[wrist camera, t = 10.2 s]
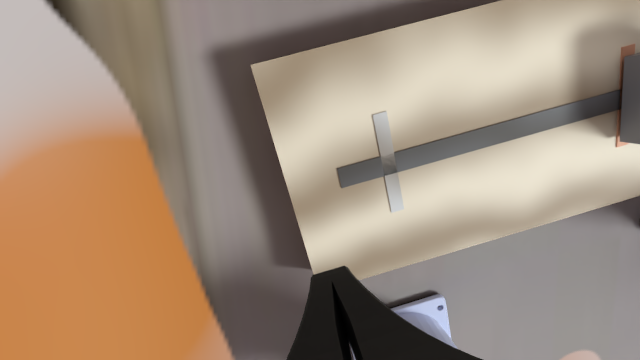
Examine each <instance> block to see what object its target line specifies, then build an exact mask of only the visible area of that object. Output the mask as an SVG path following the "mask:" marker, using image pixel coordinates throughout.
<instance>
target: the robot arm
mask: <svg viewBox="0 0 640 360" xmlns="http://www.w3.org/2000/svg"><path fill="white" fill-rule="evenodd" d="M439 305H441V306H440V307H438V306H439ZM349 343H350V346H351V350H352V354H353V357H354V360H482V359H480V358H477V357H475V356H472V355H470V354H467V353H465V352H463V351H461V350H458V349H457V347H456V346H455V344H454V343H453V342H452V340H451V334H450V328H449V321H448V314H447V307H446V301H445V298H444V297H443V296H442V295H440V294H437V295H434V296H430V297H427V298H424V299H421V300H417V301H414V302H411V303H408V304H404V305H401V306H398V307H395V308H391V309H390V308H388V307H387V306H386V305H385V304H383V303H382V302H381V301H380V300H379V299H377V298H376V297H375V296H374V295H373V294H372V293H371V292H370V291H369V290H367V289H366V288H365V287H364V286H363V285H362V284H361V283H360V282H359V281H358V279H357V278H356V277H355V276H354V275H353V274H352V272H351V271H350V270H349V268H348V267H346V266H341V267H338V268H334V269H331V270H328V271H324V272H321V273H318V274H314V275H313V276H312V277H311V283H310V290H309V295H308V299H307V303H306V307H305V311H304V314H303V318H302V321H301V324H300V327H299V329H298V332H297V335H296V338H295V341H294V343H293V345H292V348H291V350H290V353H289V355H288V357H287V359H286V360H352V358H351V352H350V347H349Z"/></svg>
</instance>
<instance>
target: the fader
mask: <svg viewBox="0 0 640 360" xmlns="http://www.w3.org/2000/svg"><path fill="white" fill-rule="evenodd" d="M620 142H626V143H633V144H640V53H636V54H632V55H629V56H625V57H624V73H623V90H622V108H621V126H620Z"/></svg>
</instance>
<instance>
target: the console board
mask: <svg viewBox="0 0 640 360" xmlns="http://www.w3.org/2000/svg"><path fill="white" fill-rule="evenodd" d="M636 53H640V0H501V1H497V2H493V3H489V4H485V5H482V6H478V7H474V8H470V9H466V10H462V11H458V12H454V13H450V14H447V15H443V16H439V17H435V18H431V19H427V20H423V21H419V22H415V23H412V24H408V25H404V26H400V27H396V28H392V29H388V30H384V31H381V32H377V33H373V34H369V35H365V36H361V37H357V38H353V39H349V40H346V41H342V42H338V43H334V44H330V45H326V46H322V47H318V48H315V49H311V50H307V51H303V52H299V53H295V54H291V55H287V56H283V57H280V58H276V59H272V60H268V61H264V62H260V63H256V64H252V65H251V69H252V72H253V75H254V79H255V82H256V85H257V89H258V92H259V95H260V99H261V102H262V105H263V108H264V112H265V115H266V118H267V122H268V125H269V128H270V132H271V135H272V138H273V142H274V145H275V148H276V152H277V155H278V158H279V162H280V165H281V168H282V172H283V175H284V178H285V181H286V185H287V188H288V191H289V195H290V198H291V201H292V205H293V208H294V211H295V215H296V218H297V221H298V225H299V228H300V231H301V235H302V238H303V241H304V244H305V248H306V251H307V254H308V258H309V261H310V264H311V268H312V271H313V274H318V273H321V272H324V271H328V270H331V269H334V268H338V267H341V266H346V267H348V268H349V270H350V271H351V272H352V274H353V275H354V276H355V277H356V278H357V279H358V280H361V279H365V278H368V277H371V276H375V275H378V274H381V273H385V272H388V271H391V270H395V269H398V268H401V267H404V266H408V265H411V264H414V263H418V262H421V261H424V260H428V259H431V258H434V257H438V256H441V255H444V254H448V253H451V252H454V251H458V250H461V249H464V248H468V247H471V246H474V245H478V244H481V243H484V242H488V241H491V240H494V239H498V238H501V237H504V236H508V235H511V234H514V233H518V232H521V231H524V230H528V229H531V228H534V227H538V226H541V225H544V224H548V223H551V222H554V221H558V220H561V219H564V218H568V217H571V216H574V215H578V214H581V213H584V212H588V211H591V210H594V209H598V208H601V207H604V206H608V205H611V204H614V203H618V202H621V201H624V200H628V199H631V198H634V197H638V196H640V144H633V143H626V142H620V126H621V108H622V90H623V73H624V57H625V56H629V55H632V54H636Z"/></svg>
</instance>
